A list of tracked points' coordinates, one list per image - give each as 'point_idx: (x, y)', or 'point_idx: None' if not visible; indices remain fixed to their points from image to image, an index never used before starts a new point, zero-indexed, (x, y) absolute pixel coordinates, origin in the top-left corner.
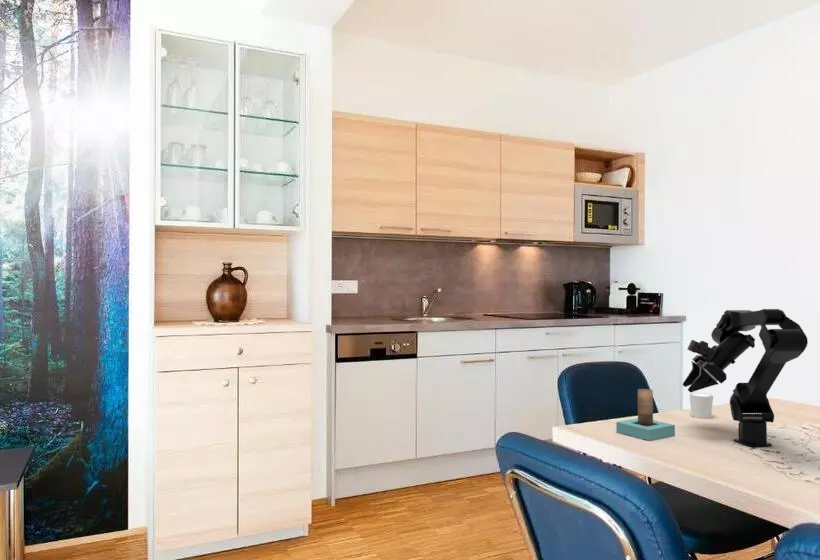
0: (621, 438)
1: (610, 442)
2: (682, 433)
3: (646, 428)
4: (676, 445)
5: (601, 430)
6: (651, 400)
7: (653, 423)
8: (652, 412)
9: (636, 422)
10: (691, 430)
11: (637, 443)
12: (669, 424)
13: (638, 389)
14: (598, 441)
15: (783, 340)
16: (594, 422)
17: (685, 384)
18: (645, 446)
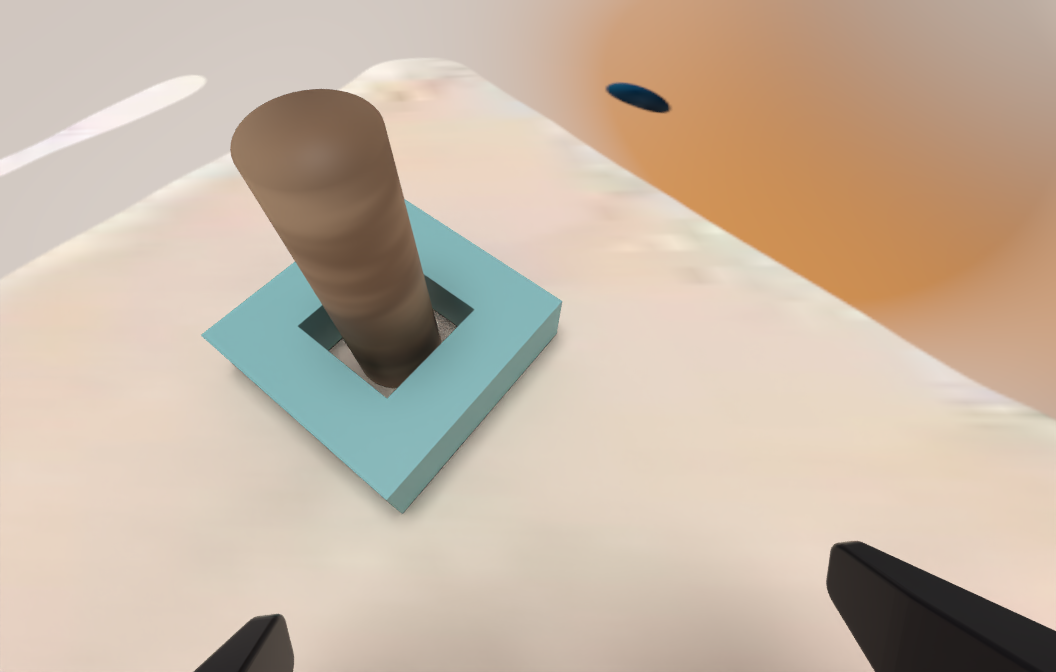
0: (278, 250)
1: (191, 213)
2: (488, 568)
3: (240, 323)
4: (136, 516)
5: (426, 176)
6: (291, 247)
7: (423, 364)
8: (340, 314)
9: (425, 276)
10: (612, 643)
11: (178, 315)
12: (393, 462)
13: (335, 94)
14: (207, 174)
15: None
16: (583, 147)
17: (851, 594)
18: (112, 350)
